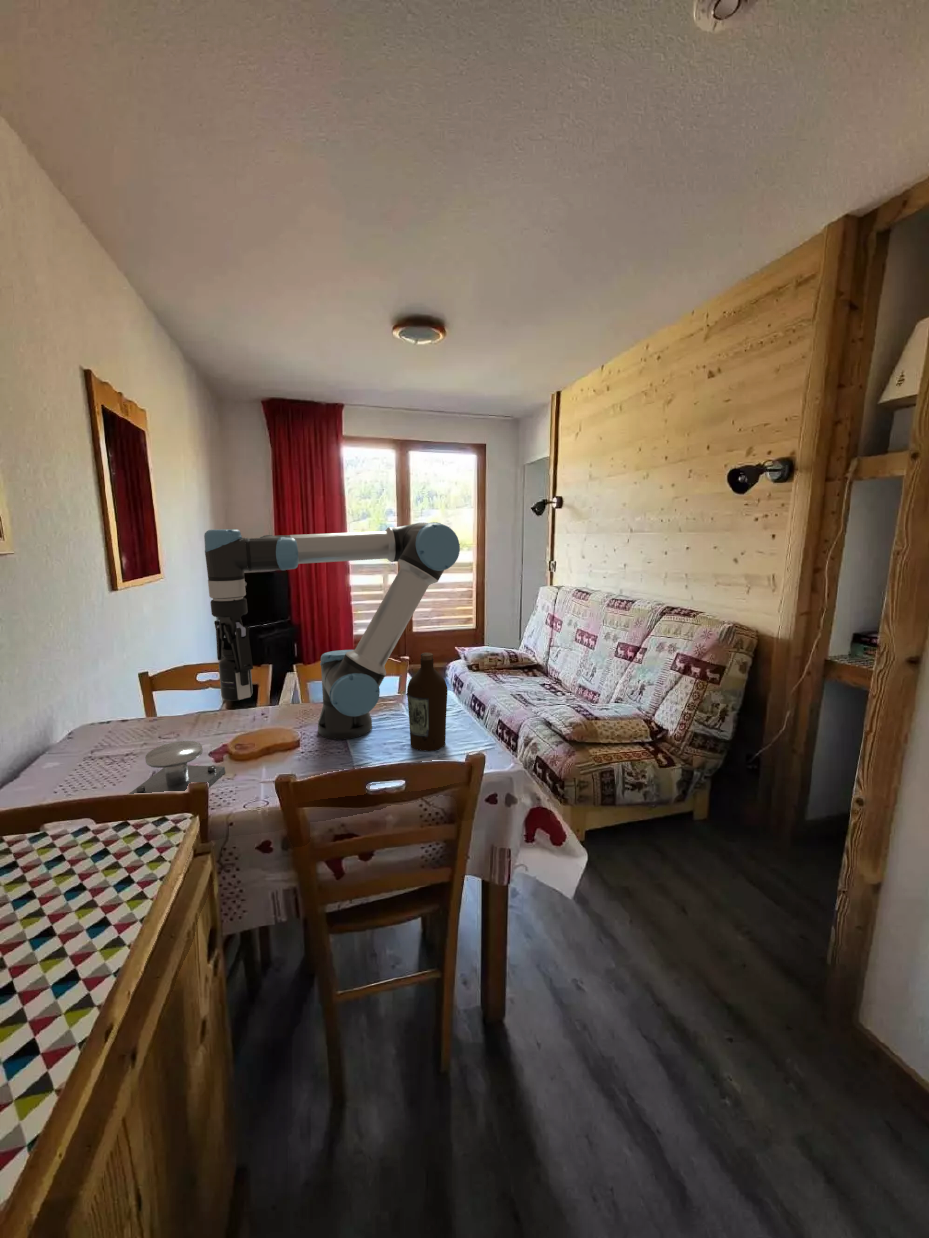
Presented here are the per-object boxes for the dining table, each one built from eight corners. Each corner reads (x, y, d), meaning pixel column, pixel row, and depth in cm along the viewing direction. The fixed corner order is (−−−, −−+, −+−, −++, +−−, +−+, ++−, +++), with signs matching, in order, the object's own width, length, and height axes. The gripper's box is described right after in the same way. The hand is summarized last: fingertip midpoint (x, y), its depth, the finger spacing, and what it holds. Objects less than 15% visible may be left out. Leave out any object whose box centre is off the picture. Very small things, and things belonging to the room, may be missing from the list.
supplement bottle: (221, 703, 115) (215, 652, 112) (222, 693, 121) (217, 645, 118) (253, 698, 117) (249, 649, 115) (253, 689, 123) (248, 642, 121)
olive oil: (425, 732, 143) (424, 646, 138) (455, 741, 137) (455, 652, 132) (399, 745, 134) (397, 655, 129) (430, 756, 128) (429, 662, 123)
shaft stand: (225, 772, 120) (221, 739, 118) (189, 805, 106) (185, 767, 104) (168, 770, 121) (164, 737, 119) (126, 802, 107) (121, 765, 105)
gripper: (264, 600, 110) (272, 700, 115) (227, 592, 124) (236, 681, 128) (229, 605, 105) (239, 708, 110) (195, 595, 118) (205, 688, 123)
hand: (237, 693), depth 119 cm, fingers closed on supplement bottle, 7 cm apart
